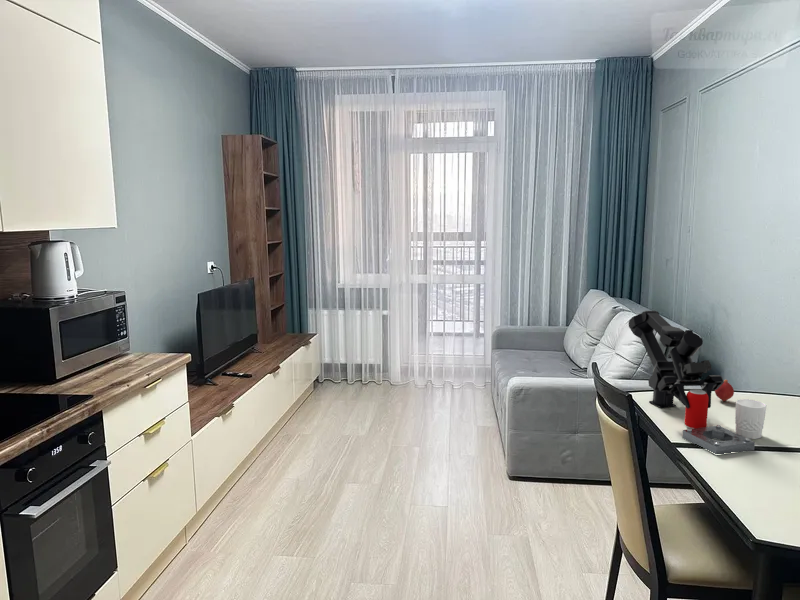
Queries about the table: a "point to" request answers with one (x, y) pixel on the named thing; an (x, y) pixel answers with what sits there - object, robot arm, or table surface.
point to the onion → (725, 391)
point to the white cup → (750, 418)
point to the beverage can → (696, 409)
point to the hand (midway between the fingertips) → (699, 407)
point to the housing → (730, 438)
